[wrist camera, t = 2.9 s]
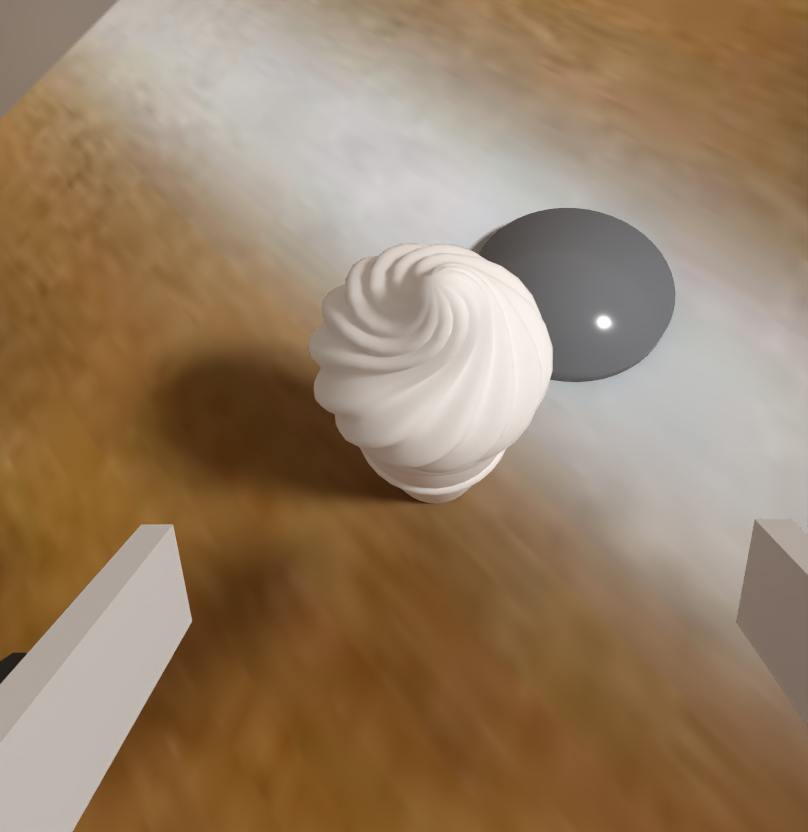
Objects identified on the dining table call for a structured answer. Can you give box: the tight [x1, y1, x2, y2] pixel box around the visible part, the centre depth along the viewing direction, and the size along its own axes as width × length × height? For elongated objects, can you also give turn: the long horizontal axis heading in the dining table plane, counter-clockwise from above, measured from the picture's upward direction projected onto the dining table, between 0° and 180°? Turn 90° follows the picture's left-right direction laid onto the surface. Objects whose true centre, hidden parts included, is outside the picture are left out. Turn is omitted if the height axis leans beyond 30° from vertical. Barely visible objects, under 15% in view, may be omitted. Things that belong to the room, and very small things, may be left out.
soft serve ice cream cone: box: [308, 243, 553, 504], centre depth 24 cm, size 8×8×16 cm
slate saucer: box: [479, 208, 675, 382], centre depth 34 cm, size 11×11×1 cm
